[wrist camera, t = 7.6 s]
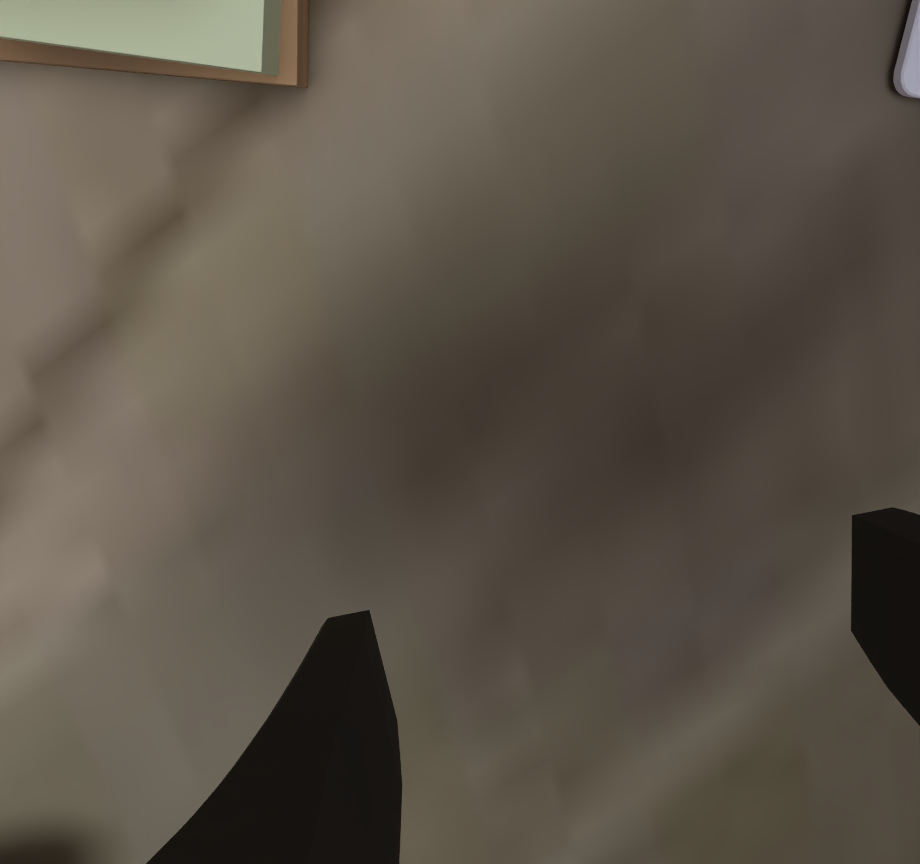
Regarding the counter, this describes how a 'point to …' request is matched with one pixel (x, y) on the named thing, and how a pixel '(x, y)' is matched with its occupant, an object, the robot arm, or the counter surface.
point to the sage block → (155, 29)
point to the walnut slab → (290, 63)
